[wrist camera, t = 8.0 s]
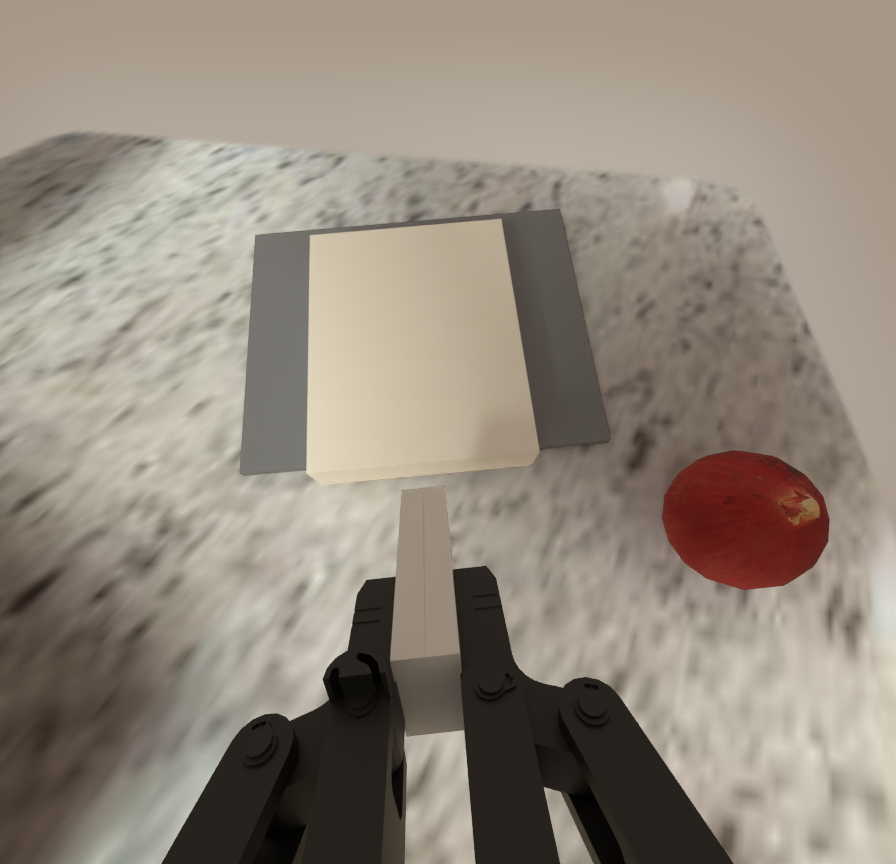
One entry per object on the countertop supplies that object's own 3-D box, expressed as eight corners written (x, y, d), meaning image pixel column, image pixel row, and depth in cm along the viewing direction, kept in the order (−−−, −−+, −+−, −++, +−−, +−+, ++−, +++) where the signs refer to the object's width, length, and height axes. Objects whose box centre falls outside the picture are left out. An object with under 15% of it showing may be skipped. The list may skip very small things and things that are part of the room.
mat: (607, 442, 24) (610, 439, 23) (243, 475, 24) (239, 473, 23) (558, 214, 29) (559, 208, 29) (258, 240, 29) (255, 234, 28)
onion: (671, 451, 24) (772, 391, 16) (771, 517, 23) (930, 485, 15) (615, 537, 22) (697, 516, 15) (718, 612, 21) (865, 631, 14)
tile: (306, 473, 20) (309, 235, 25) (323, 485, 23) (323, 267, 27) (539, 452, 20) (501, 218, 25) (530, 466, 23) (497, 252, 28)
